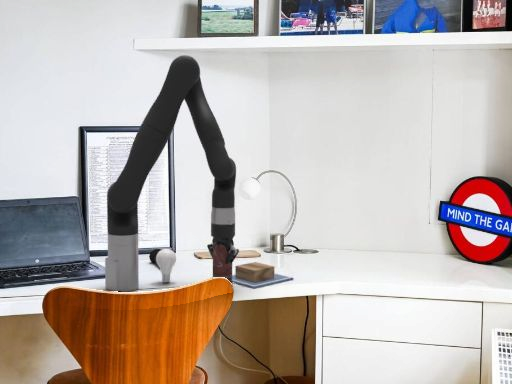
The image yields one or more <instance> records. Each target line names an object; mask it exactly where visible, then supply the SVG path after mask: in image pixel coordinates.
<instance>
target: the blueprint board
mask: <svg viewBox="0 0 512 384" xmlns="http://www.w3.org/2000/svg"><path fill="white" fill-rule="evenodd" d="M293 280H294V277H292V276H287V275H283V274H280V273H276V272H274V279H270V280H265V281H261V282H257V283H253V282H249V281H245V280H242V279H238V278H235V274H232V282H234V283H233V284H235V283H236V284H235V285H240V286H243V287H246V288H250V289H253V290H255V289H259V288H264V287H268V286H271V285H276V284H280V283H285V282H289V281H293Z"/></svg>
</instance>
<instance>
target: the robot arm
mask: <svg viewBox="0 0 512 384" xmlns="http://www.w3.org/2000/svg"><path fill="white" fill-rule="evenodd" d="M183 102H185V104H186V107H187V109H188V111H189V114H190V116H191V119H192V123H193V126H194V128H195V129H194V130H195V132H196V134H197V136H198V139H199V141H200V144H201V146H202V148H203V151H204V154H205V158H206V162H207V165H208V168H209V171H210V173H211V175H212V177H213V178H214V180H213V181H214V182H213V183H214V185H213V190H212V193H211V212H210V237H212V242H211V243H209V244H207V246H206V247H207V250H208V252H209V254H210V257H211V259H212V260H213V245H214V244H216V245H225V247H226V251H229V250H230V251H229V254H228V256H227V258H226V262H225V263H226V264H229V263H232V264H233V263H234V261H235V259H236V258H237V256H238V255H239V252H240V249H239V248H235V243H234V237H235V236H236V209H235V207H236V206H235V203H236V201H235V200H236V199H235V188H236V187H235V186H236V179H237V178H236V177H237V166H236V162H235V161H234V160H233V159H232V158H231V157H230V156H229V153H228V150H227V149H226V142H225V138H224V135H223V133H222V131H221V128H220V125H219V122H218V121H217V119H216V117H215V115H214V113H213V111H212V109H211V107H210V105H209V103H208V100H207V98H206V95H205V91H204V89H203V83H202V80H201V69H200V65H199V63H198V61H197V60H196V59H195V58H194V57H193V56H191V55H187V54H186V55H179V56H177V57H175V58H174V59H173V60H172V61H171V63H170V65H169V68H168V71H167V73H166V77H165V79H164V82H163V84H162V87H161V89H160V92H159V93H158V95H157V97H156V99H155V100H154V102H153V103H152V105H151V106H150V109H149V110H148V112H147V114H146V115H145V117H144V118H143V120H142V123H141V125H140V126H139V129H138V130H137V133H136V135H135V137H134V140H133V142H132V145H131V148H130V152H129V154H128V157H127V161H126V163H125V165H124V167H123V169H122V171H121V173H120V174H119V176H118V177H117V179H116V181H114V182H113V183H112V184H110V186H108V189H107V193H106V194H107V195H106V202H107V203H106V209H107V210H106V212H107V216H106V217H107V221H106V222H107V225H106V226H107V228H106V229H107V257H105V260H104V267H105V269H104V271H105V272H104V275H105V278H104V279H105V281H104V282H105V286H104V287H105V289H106V290H109V291H112V292H114V291H121V292H132V291H135V290H138V289H139V285H140V284H139V282H140V281H139V280H140V279H139V217H138V214H139V210H138V209H139V208H138V207H139V206H138V203H139V198H140V195H141V193H142V191H143V189H144V188H143V187H144V185H145V182H146V181H147V177H148V176H149V174H150V172H151V170H152V169H153V167H154V166H155V165H156V163H157V161H158V159H159V158H160V156H161V154H162V152H163V151H164V149H165V147H166V145H167V143H168V141H169V139H170V137H171V134H172V133H173V130H174V128H175V125H176V123H177V119H178V116H179V113H180V110H181V107H182V104H183Z"/></svg>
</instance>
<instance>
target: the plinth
mask: <svg viewBox="0 0 512 384" xmlns="http://www.w3.org/2000/svg"><path fill="white" fill-rule="evenodd" d="M274 273H275V265H269V264H265V263H261V262H256V261H253V262H248V263H243V264H238V265H235V272H234V275H235V278H238V279H242V280H245V281H249V282H253V283H257V282H261V281H265V280H270V279H274Z"/></svg>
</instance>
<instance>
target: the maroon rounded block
mask: <svg viewBox="0 0 512 384" xmlns="http://www.w3.org/2000/svg"><path fill="white" fill-rule="evenodd" d="M229 251H230V250H229ZM229 251H226V247H225V245H216V244H214V245H213V259H212V278H213V277H225V278H227V279H228V280H229V281H230V282H231V283H232V275H233V262H232V263H229V264H226V263H225V262H226V258H227V256H228V254H229ZM232 284H233V283H232Z"/></svg>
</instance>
